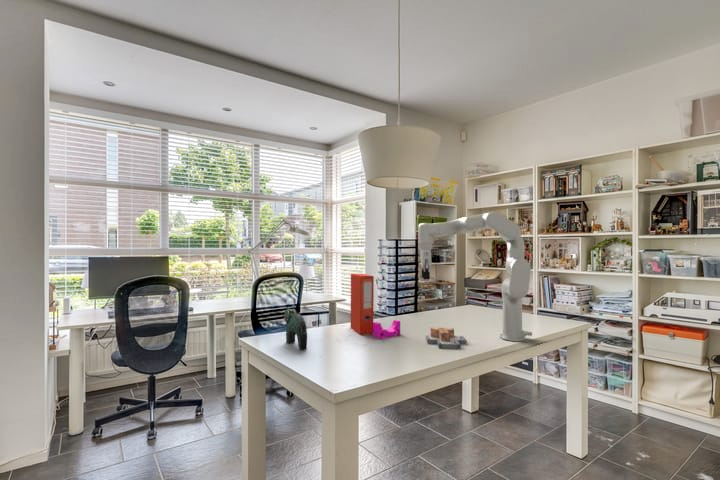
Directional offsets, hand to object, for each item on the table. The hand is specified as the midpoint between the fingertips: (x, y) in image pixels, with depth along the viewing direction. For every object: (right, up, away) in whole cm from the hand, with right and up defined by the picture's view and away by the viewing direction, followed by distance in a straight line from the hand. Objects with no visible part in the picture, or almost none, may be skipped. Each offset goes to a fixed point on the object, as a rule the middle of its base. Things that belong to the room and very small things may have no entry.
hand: (425, 278), depth 198 cm
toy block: (-20, -32, +3) cm, 37 cm away
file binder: (-34, -32, +14) cm, 49 cm away
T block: (+9, -31, -2) cm, 32 cm away
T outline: (+8, -31, -13) cm, 35 cm away
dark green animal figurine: (-66, -32, -16) cm, 75 cm away
